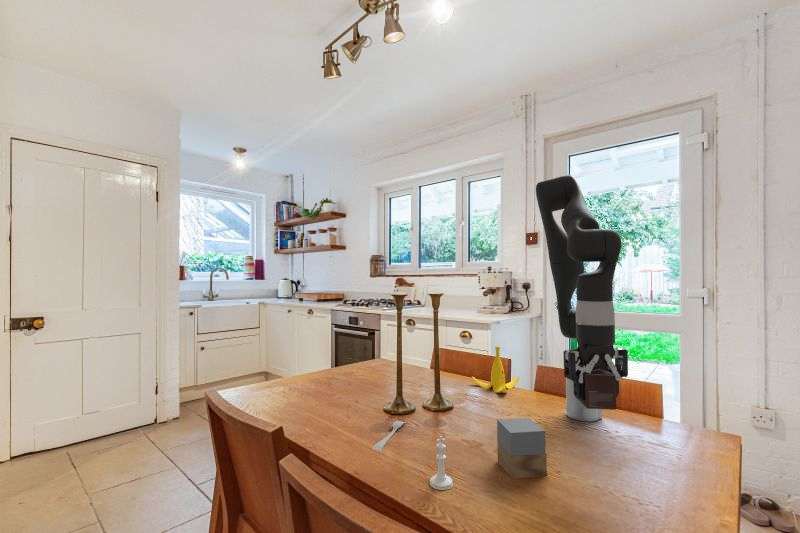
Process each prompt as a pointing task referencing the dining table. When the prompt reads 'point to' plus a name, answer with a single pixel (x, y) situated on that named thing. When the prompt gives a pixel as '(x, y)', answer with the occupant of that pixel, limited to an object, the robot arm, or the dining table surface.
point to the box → (600, 390)
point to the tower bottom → (522, 464)
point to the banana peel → (497, 377)
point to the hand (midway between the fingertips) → (596, 398)
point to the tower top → (521, 436)
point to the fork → (383, 441)
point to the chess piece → (441, 470)
